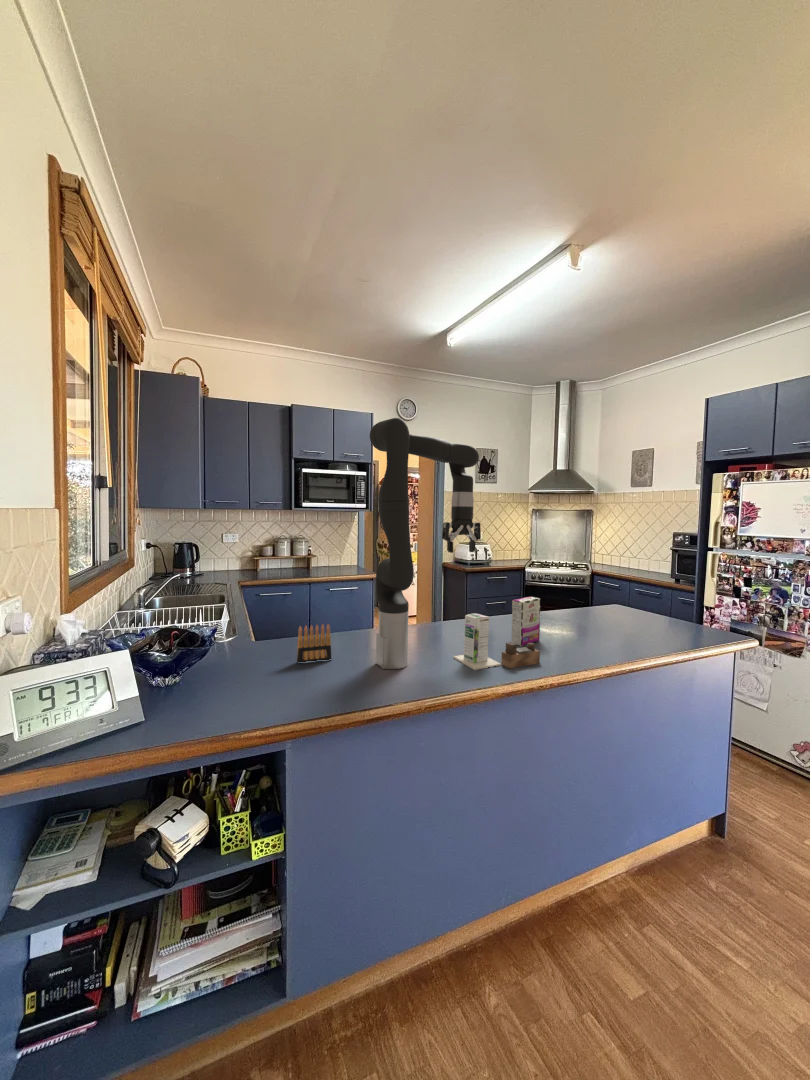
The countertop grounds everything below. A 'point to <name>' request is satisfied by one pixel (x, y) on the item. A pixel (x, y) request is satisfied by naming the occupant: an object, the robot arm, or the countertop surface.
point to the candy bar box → (525, 620)
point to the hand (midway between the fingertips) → (461, 552)
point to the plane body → (520, 655)
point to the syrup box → (476, 638)
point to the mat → (476, 666)
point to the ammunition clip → (314, 644)
